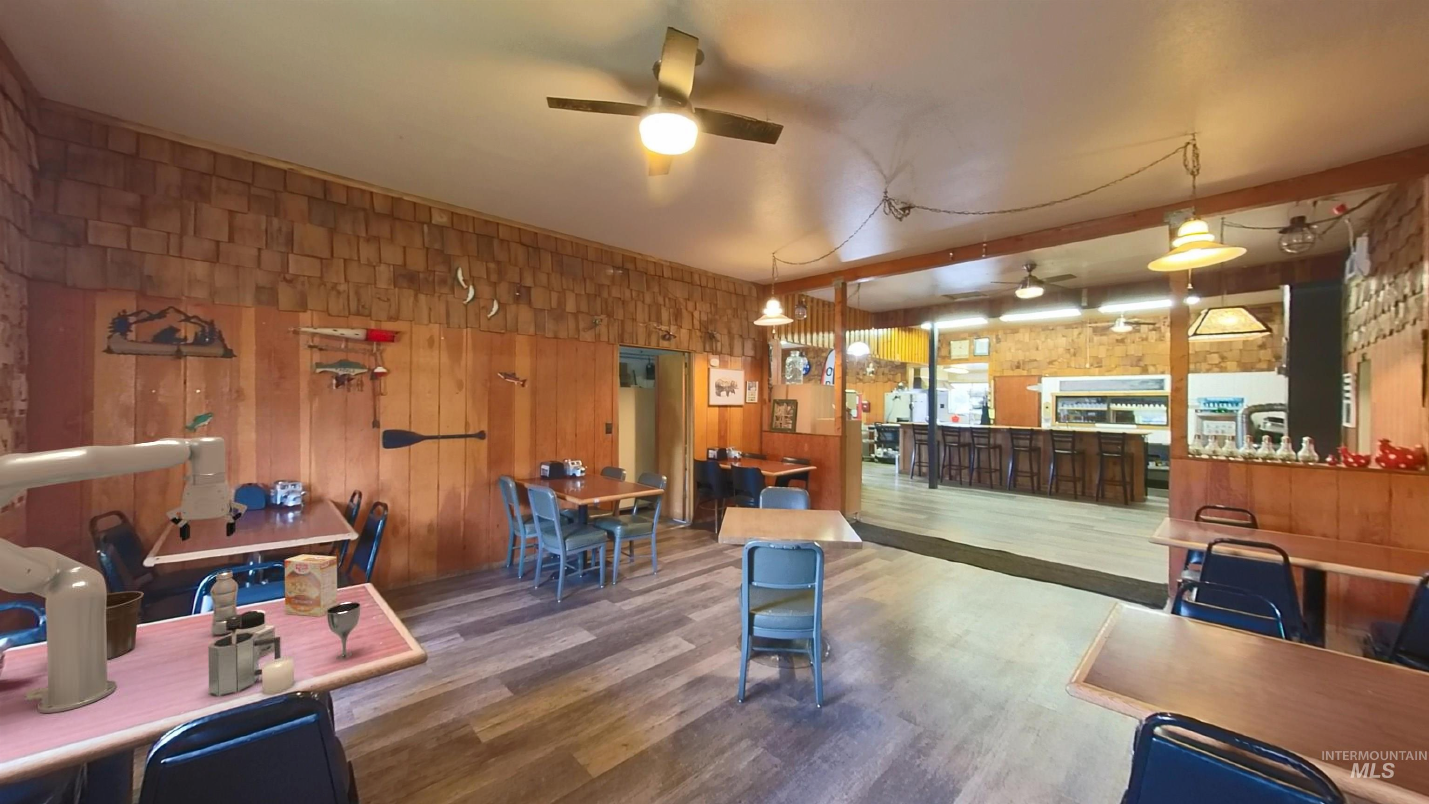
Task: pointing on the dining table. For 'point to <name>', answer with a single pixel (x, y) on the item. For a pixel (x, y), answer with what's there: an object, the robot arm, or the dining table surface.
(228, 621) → the plunger
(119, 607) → the plant pot
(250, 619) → the container
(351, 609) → the wine glass
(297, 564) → the coffeecake box
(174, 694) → the dining table surface
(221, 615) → the plastic bottle
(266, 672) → the pillar candle
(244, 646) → the press carafe
